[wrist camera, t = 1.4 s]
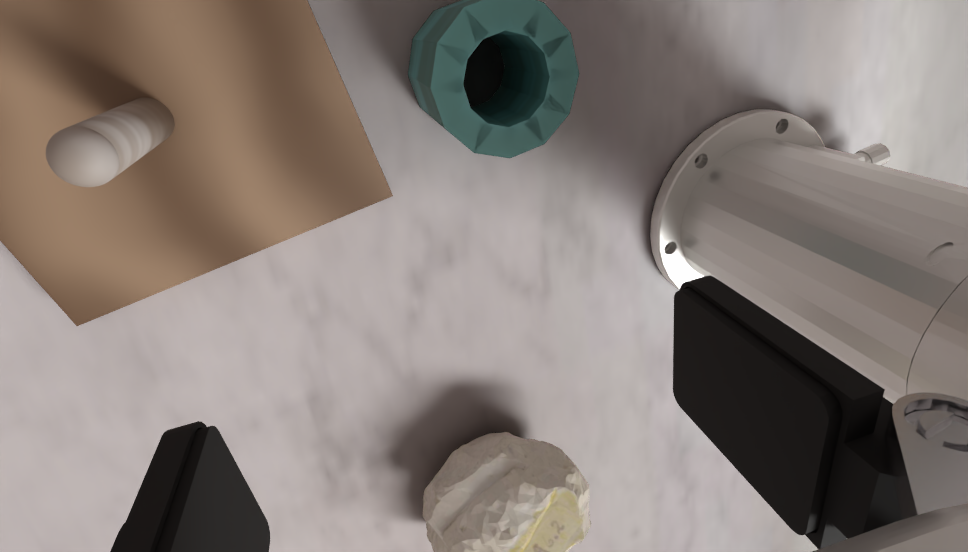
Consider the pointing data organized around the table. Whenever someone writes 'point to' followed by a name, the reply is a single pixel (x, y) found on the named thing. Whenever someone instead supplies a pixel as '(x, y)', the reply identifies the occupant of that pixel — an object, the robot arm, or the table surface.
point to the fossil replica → (507, 498)
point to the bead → (526, 78)
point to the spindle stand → (168, 141)
